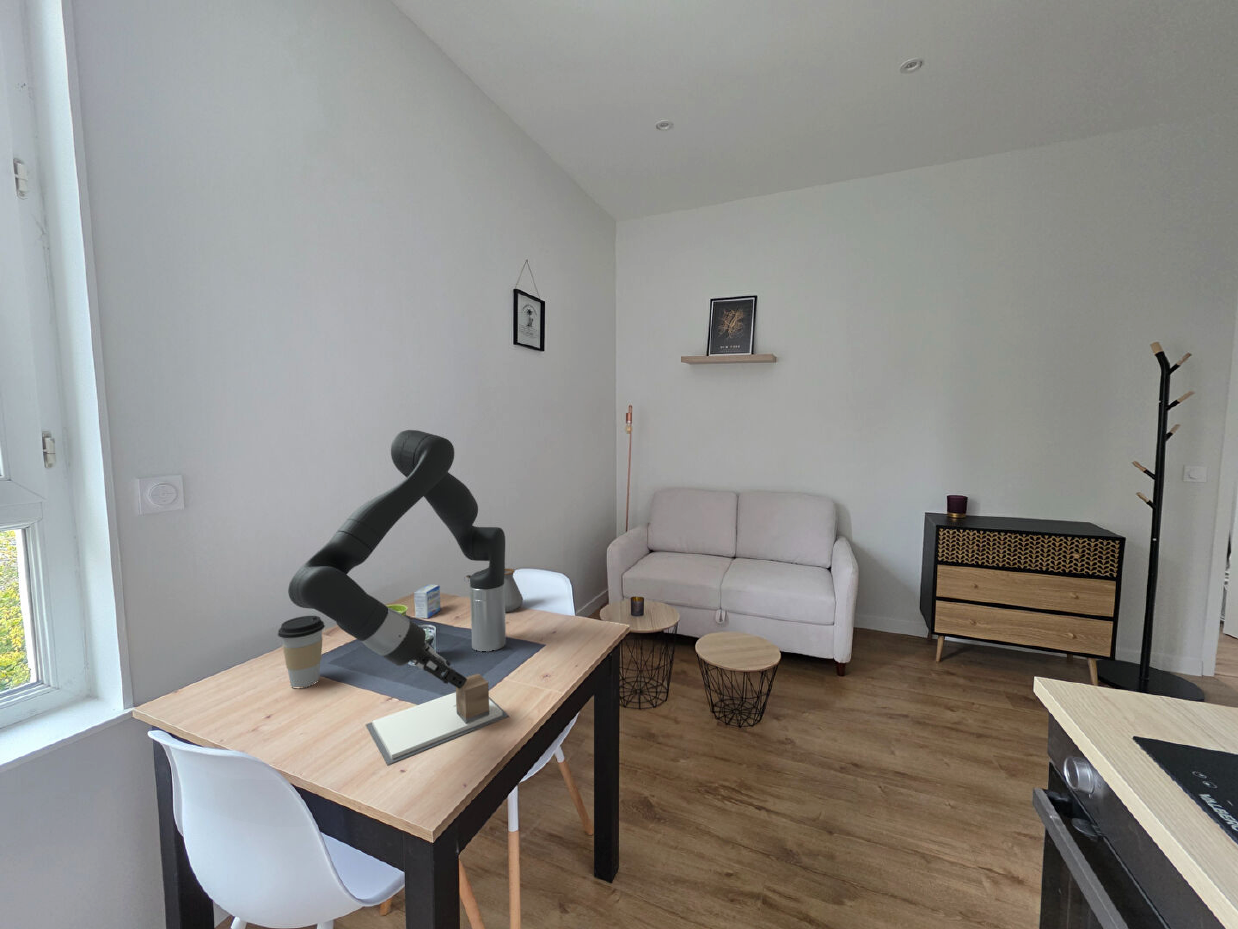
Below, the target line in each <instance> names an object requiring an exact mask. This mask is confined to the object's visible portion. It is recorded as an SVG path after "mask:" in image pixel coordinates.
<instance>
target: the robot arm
mask: <svg viewBox="0 0 1238 929" xmlns="http://www.w3.org/2000/svg"><path fill="white" fill-rule="evenodd" d="M390 457H391V460H392V463H393V465H394V466H395V468H396V469H397V470H398V471H399V472H400V474H402V475H403V476H404V477H405V479H404V480H402V481H401V482H400V483H399V484H397V485H395V486H394V487H393V488H392V487H391V488H390V489H389V490H387V491H385V492H383V493H382V494H380V495H377V496H376V497H374V498H373V499H370V500H369V501H366V502H365V503H364V504H362V505H360V506H359V507H358V508H357V509H356V510H355V511H353V512H352V514H351V515H349V516H348V518H347V519H346V520H345V521H344V522H343V523H342V525H341V526H339V528H338V530H337V531H336V532H335V534H333V536H332V537H331V539H330V540H329V541H328V542H327V543H326V544H324V546H323V547H321V548H320V549H319V550H318V551H317V552H315V554H313V556H311V557H310V558H309V559H307V561H306V562H305V563H304V564H303V565H302V566H301V567H299V569H298V570H297V571H296V572H295V574H294V576H292V578H291V580H290V582H289V585H288V590H287V591H288V597H289V599H290V601H291V602H292V603H293V604H294V605H295V606H298V607H300V608H303V609H309V610H310V609H311V610H315V611H318V612H320V613H321V614H323V615H325V616H326V617H328V618H330V619H331V620H333V621H334V622H336V625H337V626H338V627H339V628H340V629H341V630H342V631H344V632H345V633H347V634H348V635H349V636H351V637H354V638H355V639H356V640H358V641H360V642H361V643H363V645H364V646H365V647H367V648H368V649H370V650H371V651H373V652H375V653H377V654H378V655H379V656H381V657H383V658H384V659H386V660H387V661H389V662H391V663H392V664H394V665H396V666H399V667H401V666H405V665H407V664H408V663H410V662H412V663H414V665H415V666H416V667H417V668H419V669H423V671H425V672H426V673H428V674H429V675H431V676H432V677H436V678H437V679H439V681H441V682H442V683H443V684H446V685H447V684H448V683H449V684H451V685H452V686H454V687H455V688H456V687H457V688H459V689H460V688H462V686H463V685H464V684H465V682H466V681H467V679H466V677H465V675H463V674H461V673H460V672H458V671H456V670H455V668H454V667H453V666H451V662H449V661H448V660H447V659H445V658H444V657H443V656H441V655H440V654H438V653H437V651H436V649H435V648H434V647H432V646H431V645H430V644H429V643H428V642H426V638H427V637H426V636H427V635H426V631H425V629H424V628H422V627H421V626H419V625H418V624H416V623H415V622H414V621H413V620H410V618H407V617H406V616H405V617H404V616H403V615H402V614H400V613H398V612H397V611H395V610H393V609H391V608H389V607H387V605H386V604H384V603H383V602H381V601H380V600H379V599H377V598H375V597H373V596H372V595H370V594H368V593H367V592H366V590H364V588H362V586H361V585H360V584H358V583H357V582H356V581H355V580H354V579H352V578H351V577H350V576H349V575H348V574H349V573H350V572H351V571H352V570H353V569H354V568H356V567H357V566H359V565H361V564H363V563H364V562H366V561H367V559H368V558H369V557H370V556H371V554H372V553H373V552H374V551H375V550H376V549H377V547H378V545H380V543H381V541H383V539H384V538H385V536H386V535H387V534H388V533H389V531H390V530H391V529H392V528H393V526H394V525H395V524H397V522H398V521H399V520H401V518H402V517H403V516H404V515H405V514H407V512H408V511H410V510H411V508H413V507H414V506H415V504H417V503H418V502H419V501H420V500H421V499H422V498H424V499H425V501H427V503H428V504H429V505H430V506H431V508H432V509H433V511H434V512H435V513H436V515H437V516H438V517H439V518H440V520H441V521H442V523H443V524H444V525H445V527H447V529H448V530H449V531H450V533H451V535H452V536H453V537H454V539H455V541H456V542H457V544H458V547H459V548H460V550H461V552H462V554H463V555H464V556H465V558H467V559H468V560H470V561H478V562H482V561H483V562H489V564H488V567H487V568H485V569H483V570H478V571H476V572H474V573H473V574H470V576H471V577H470V578H469V589H470V590H469V591H470V621H471V622H470V623H471V624H470V625H471V649H473V650H475V651H476V650H477V652H482V651H486V652H493V651H492V650H494V651H497V650H500V649H502V648H503V647H504V646H506V644H507V637H506V634H507V632H506V612H505V587H504V575H505V569H506V536H505V535H506V534H505V532H504V530H503V529H502V528H501V527H499V526H498V527H497V526H475V525H474V524H475V523H474V522H476V520H477V517H478V514H479V513H478V512H479V506H478V502H477V500H476V499H475V497H474V495H473V494H472V492H471V490H470V489H469V488H468V487H467V485H466V484H465V483H463V482H462V481H461V480H459V479H458V478H457V477H456V476H454V475H453V474H452V473H451V472H449V470H450V469H451V468H452V465H453V463H454V460H455V447H454V445H453V443H452V441H450V440H449V439H447V438H445V437H443V436H440V435H437V434H432V433H429V432H425V431H422V430H417V429H416V430H415V429H407V430H403V431H400V432H399V433H398V434H397V435H395V437H394V438H393V440H392V442H391V445H390ZM443 673H444V674H443Z"/></svg>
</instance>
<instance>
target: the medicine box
mask: <svg viewBox="0 0 1238 929" xmlns="http://www.w3.org/2000/svg"><path fill="white" fill-rule="evenodd" d="M413 594H414V596H413V597H414V608H415V609H414V614H415V617H414V618H415V619H416V618H417V619H426V620H428V619H429V618H431V617H432V616H434V615H436V614H437V613H438V612H440V611H441V586H440V585H439V584H427V585H426V586H423V587H422V588H420V589H418V590H416V591H415V592H414V593H413ZM433 614H434V615H433Z"/></svg>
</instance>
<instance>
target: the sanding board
mask: <svg viewBox="0 0 1238 929" xmlns="http://www.w3.org/2000/svg"><path fill="white" fill-rule="evenodd" d="M509 716H510V715H509V714H508V713H507V712H506V711H505V710H504V709H503V708H501V706H500V705H498V703H496V702H495V701H494V700H493V699H492V698H491V697H490V696H489V715H488V716H485V717H483V718H480V719H478V720H475V721H473V722H470V723H468V724H466V723H465V722H464V721H463V720H462V719H461V718H460V717H459V715H458V714H457V710H456V691H454V692H452V693H450V694H447V695H444V696H440V697H437V698H435V699H433V700H432V699H431V700H429V701H426V702H423V703H421V704H418V705H415V706H412V707H409V708H405V709H403V710H400V711H397V712H393V713H391V714H389V715H385V716H382V717H379V718H376V719H374V720H372V721H371V722H369V723H365V727H366V729H367V731H368V732H369V734H370V736H371V738H372V740H373V742H374V743H375V745H376V747H377V748H378V749H377V750H379V753H380V754H381V756H382V758H383V760H384V761H385V764H386V765H387V766H389V765H392V764H395V763H398V762H399V761H402V760H405V759H407V758H410V757H412V756H416V755H417V754H420V753H421V752H424V751H427V750H429V749H433V748H434V747H437V746H440V745H442V744H445V743H447V742H449V741H452V740H455V739H456V738H459V737H461V736H463V735H466V734H469V733H471V732H474V731H476V730H479V729H482V728H484V727H486V726H488V725H489V726H490V725H492V724H494V723H496V722H499V721H501V720H503V719H502V718H504V719H506V718H508V717H509ZM498 720H499V721H498Z"/></svg>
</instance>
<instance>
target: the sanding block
mask: <svg viewBox="0 0 1238 929" xmlns="http://www.w3.org/2000/svg"><path fill="white" fill-rule="evenodd" d="M465 678H466V679H467V681H466V682H465V684H464V685H463V686H462V688H460V689H459V688H457V687H455V692H456V710H457V714H458V715H459V717H460V718H461V719H462V720H463V721H464V722H465V723H466V724H468V723H470V722H473V721H475V720H478V719H480V718H483V717H485V716H488V715H489V697H490V693H489V692H490V691H489V682H488V681H487V680H486V679H485V678H484V677H483V676H482V675H481V674H480V673H476V674H472V675H470V676H466V677H465Z"/></svg>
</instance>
